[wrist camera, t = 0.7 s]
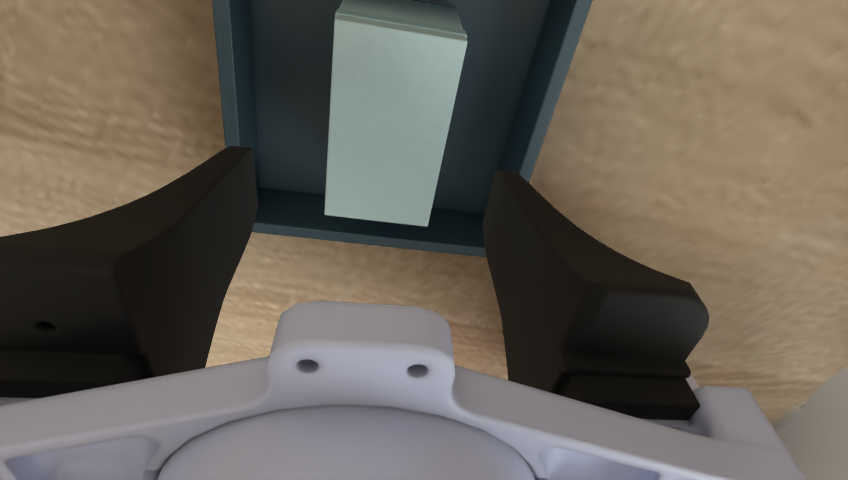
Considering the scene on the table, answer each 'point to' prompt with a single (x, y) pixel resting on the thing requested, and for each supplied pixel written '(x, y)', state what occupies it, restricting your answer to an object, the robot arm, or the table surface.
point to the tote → (310, 109)
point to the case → (390, 107)
